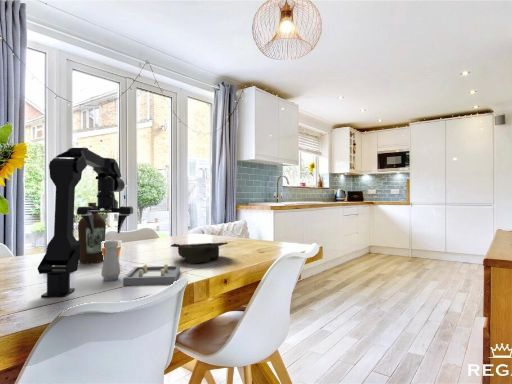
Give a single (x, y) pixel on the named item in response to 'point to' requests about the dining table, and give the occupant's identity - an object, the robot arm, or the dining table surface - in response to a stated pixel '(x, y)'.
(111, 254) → the salt shaker
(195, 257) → the stone bowl
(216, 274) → the dining table surface
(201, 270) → the dining table surface
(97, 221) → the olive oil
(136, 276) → the pin tray
